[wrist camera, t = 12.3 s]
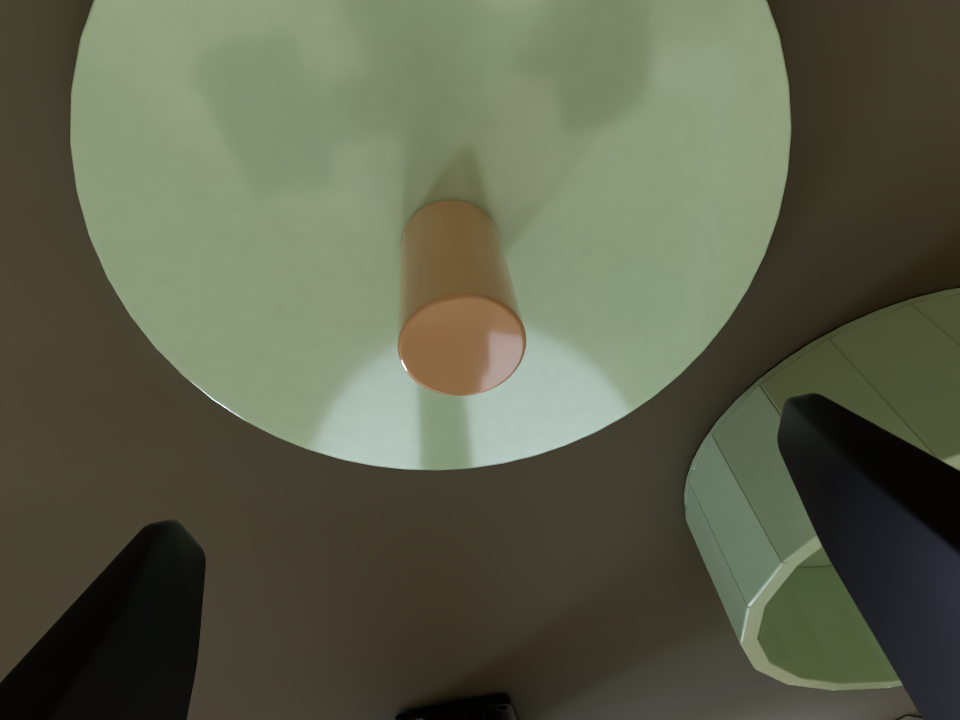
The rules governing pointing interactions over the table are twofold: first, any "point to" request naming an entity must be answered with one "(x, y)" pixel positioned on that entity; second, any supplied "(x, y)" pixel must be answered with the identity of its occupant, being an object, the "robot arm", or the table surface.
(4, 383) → the table surface
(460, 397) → the pot lid
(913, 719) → the tea box
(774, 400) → the pot
